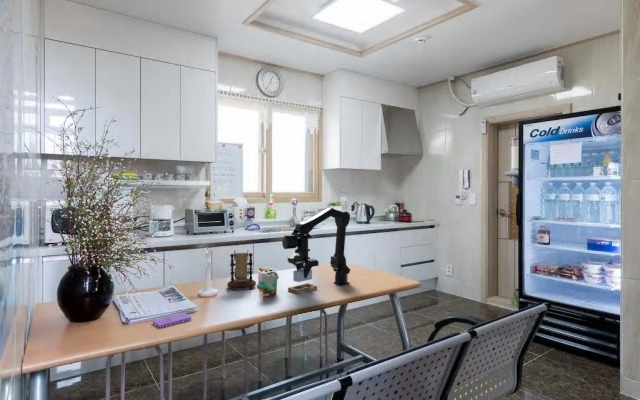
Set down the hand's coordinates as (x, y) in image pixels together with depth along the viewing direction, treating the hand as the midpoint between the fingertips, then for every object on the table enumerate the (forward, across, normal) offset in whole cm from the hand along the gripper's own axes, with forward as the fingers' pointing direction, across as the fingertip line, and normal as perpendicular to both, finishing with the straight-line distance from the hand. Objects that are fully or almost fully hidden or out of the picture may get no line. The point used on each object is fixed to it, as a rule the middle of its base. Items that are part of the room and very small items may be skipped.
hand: (302, 277), depth 190 cm
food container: (+7, -4, -16) cm, 18 cm away
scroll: (+7, -25, -21) cm, 33 cm away
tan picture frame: (+6, 0, 0) cm, 7 cm away
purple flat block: (+7, 0, -66) cm, 66 cm away
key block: (+1, 0, 0) cm, 1 cm away
